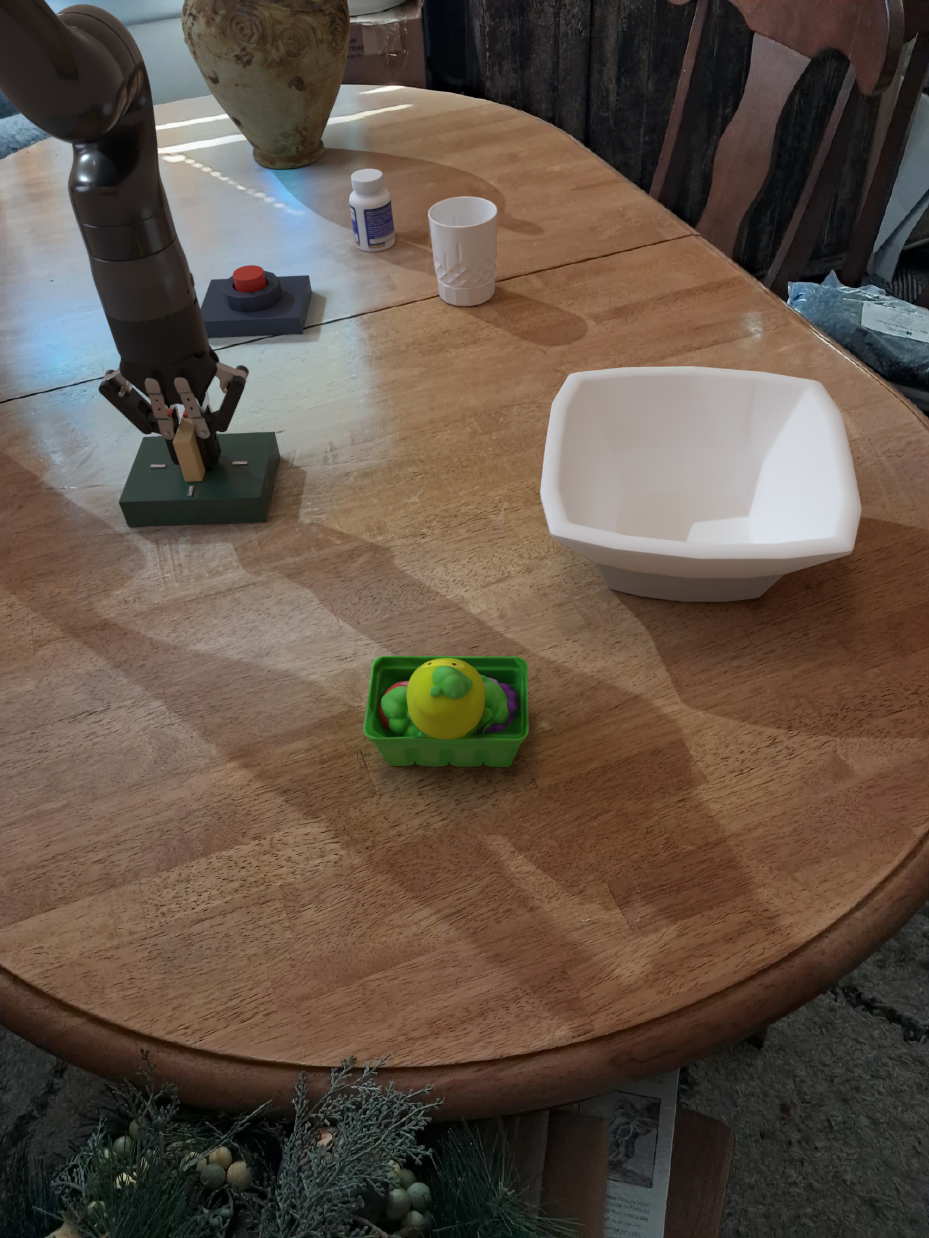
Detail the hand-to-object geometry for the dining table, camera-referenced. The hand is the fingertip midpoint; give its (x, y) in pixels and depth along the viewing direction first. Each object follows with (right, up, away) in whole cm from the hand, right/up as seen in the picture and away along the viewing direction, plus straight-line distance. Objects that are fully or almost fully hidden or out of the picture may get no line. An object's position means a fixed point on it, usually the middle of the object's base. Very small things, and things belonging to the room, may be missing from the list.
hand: (199, 464), depth 93 cm
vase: (-2, +56, +57) cm, 80 cm away
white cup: (+25, +25, +26) cm, 44 cm away
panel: (0, -2, +2) cm, 3 cm away
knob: (0, 0, 0) cm, 0 cm away
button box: (0, +22, +25) cm, 33 cm away
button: (0, +24, +22) cm, 33 cm away
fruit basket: (+24, -24, -20) cm, 39 cm away
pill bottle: (+13, +34, +36) cm, 52 cm away
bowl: (+44, -8, -6) cm, 45 cm away
